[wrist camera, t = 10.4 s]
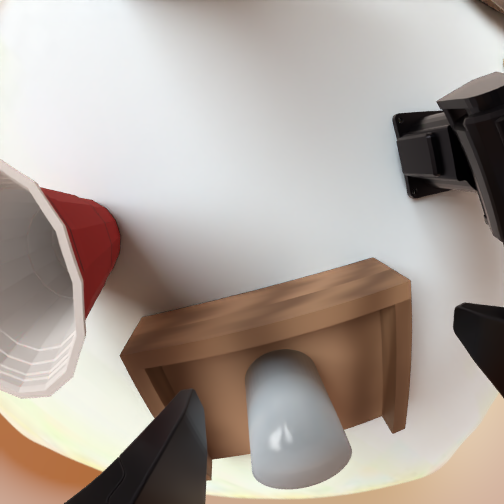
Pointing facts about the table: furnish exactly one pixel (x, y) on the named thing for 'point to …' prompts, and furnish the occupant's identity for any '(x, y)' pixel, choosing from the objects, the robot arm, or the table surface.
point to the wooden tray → (283, 337)
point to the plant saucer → (495, 4)
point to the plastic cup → (47, 280)
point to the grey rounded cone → (292, 422)
